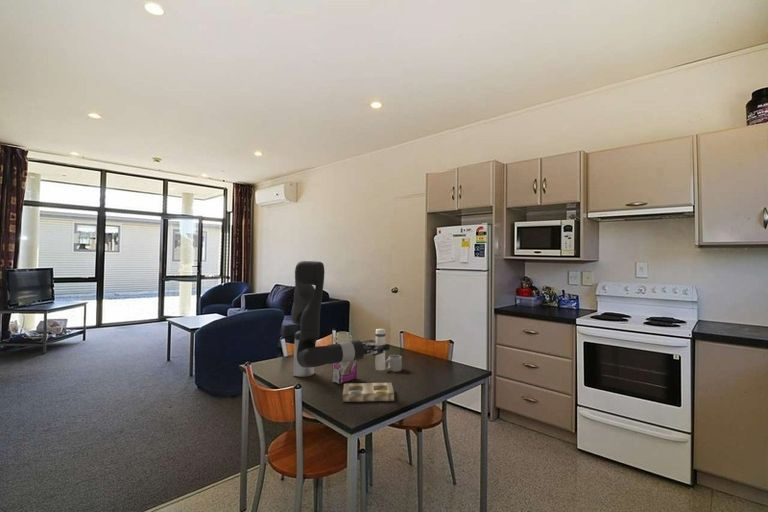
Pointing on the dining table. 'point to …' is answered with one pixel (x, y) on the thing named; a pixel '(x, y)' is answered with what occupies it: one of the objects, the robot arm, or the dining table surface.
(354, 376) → the candy bar box
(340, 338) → the character mug
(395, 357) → the mug
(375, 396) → the socket board
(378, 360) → the white tall cylinder
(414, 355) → the dining table surface
